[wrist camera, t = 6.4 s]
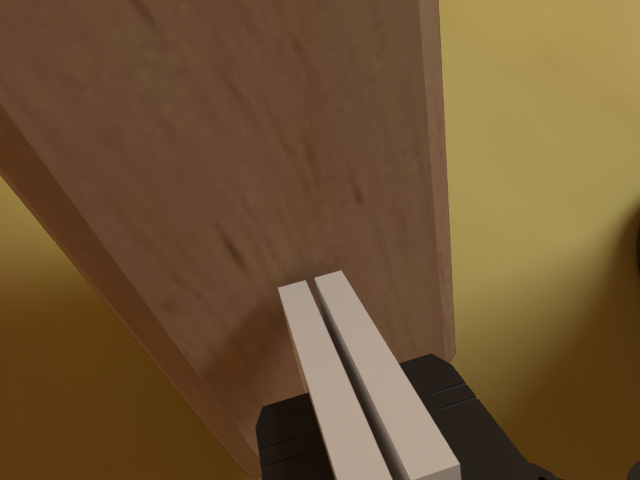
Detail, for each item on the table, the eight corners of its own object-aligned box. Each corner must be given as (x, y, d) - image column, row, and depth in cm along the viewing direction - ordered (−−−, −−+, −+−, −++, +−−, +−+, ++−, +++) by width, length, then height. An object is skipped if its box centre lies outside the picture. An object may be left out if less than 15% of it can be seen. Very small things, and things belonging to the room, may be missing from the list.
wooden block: (466, 367, 20) (449, -362, 7) (253, 497, 18) (-322, -172, 5) (352, 240, 28) (236, -243, 14) (190, 323, 26) (-119, -144, 12)
